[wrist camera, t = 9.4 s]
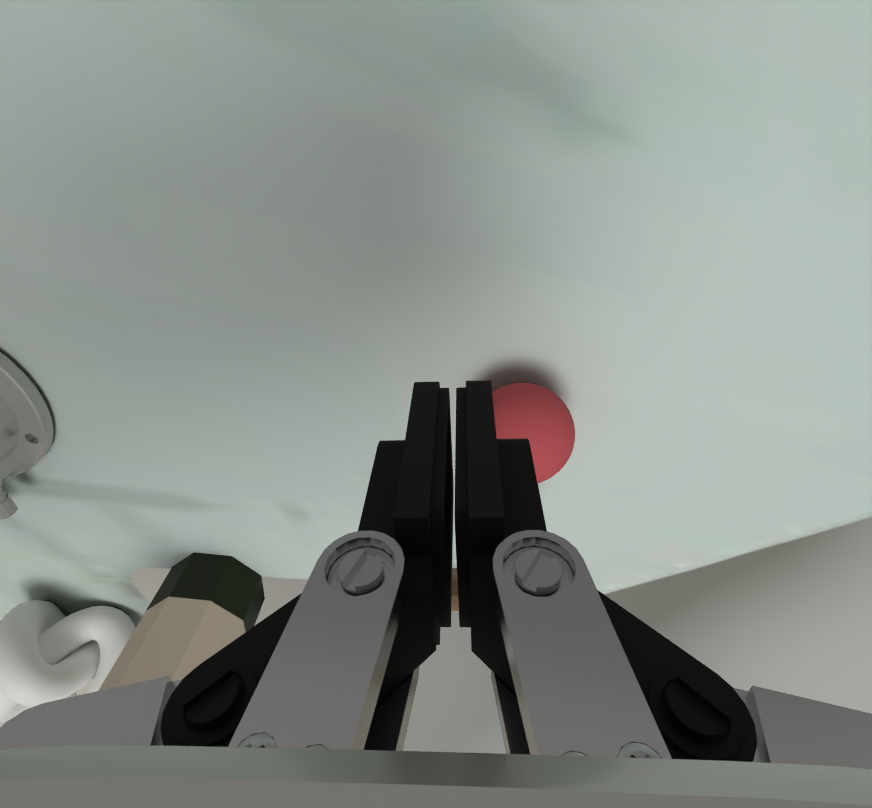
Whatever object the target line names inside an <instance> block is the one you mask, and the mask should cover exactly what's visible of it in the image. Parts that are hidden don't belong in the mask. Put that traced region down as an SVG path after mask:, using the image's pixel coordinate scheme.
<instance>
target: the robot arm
mask: <svg viewBox="0 0 872 808" xmlns="http://www.w3.org/2000/svg"><path fill="white" fill-rule="evenodd" d="M53 434H54V430H53V423H52V418H51V415H50V412H49V410H48V407H47V405H46V403H45V401H44V399H43V398H42V396H41V394H40V393H39V391H38V389H37V388H36V387H35V385H34V384H33V383H32V382H31V381H30V379H29V378H28V377H27V376H26V374H25V373H24V372H23V371H22V370H21V369H20V368H18V367H17V366H16V365H15V364H14V363H13V362H12V361H11V360H10V359H9V358H8V357H6V356H5V355H4V354H2V353H1V352H0V520H1V519H5V518H7V517H10V516H11V515H13V514H14V513H15V512H16V511H17V509H18V508H17V506H16V505H15V503H14V502H13V501H12V499H11V498H10V497H9V495H8V494H6V493H5V492H4V490H3V489H2V488H1V487H2V485H3V481H2V480H3V479H5V478H6V477H7V476H14V475H17V474H20V473H23V472H25V471H27V470H29V469H30V468H31V467H33V466H34V465H36V464H37V463H38V462H39V461H40V460H41V459H42V458H43V457H44V456H45V455H46V454H47V453H48V451H49V449H50V447H51V445H52V441H53ZM455 535H456V556H457V578H458V600H459V622H460V627H471V644H472V652H474V654H476V655H477V656H478V657H479V658H480V659H481V660H482V661H483V662H484V663H485V664H486V665H487V666H488V667H489V668H490V669H491V679H492V684H493V689H494V694H495V699H496V704H497V709H498V715H499V719H500V725H501V730H502V734H503V740H504V745H505V749H506V754H491V753H454V752H452V753H451V752H418V751H403V746H404V741H405V737H406V732H407V727H408V723H409V718H410V714H411V709H412V705H413V700H414V695H415V691H416V686H417V682H418V677H419V665H420V664H422V663H423V662H424V661H425V660H426V659H427V658H428V657H429V656H430V655H431V654H432V653H433V652H435V650H436V645H439V644H440V627H451V597H452V542H453V465H452V443H451V421H450V399H449V388H440V384H439V382H415V383H414V387H413V394H412V400H411V406H410V413H409V419H408V425H407V432H406V438H405V440H397V441H380V442H379V444H378V447H377V451H376V456H375V460H374V464H373V469H372V473H371V477H370V482H369V486H368V490H367V495H366V499H365V503H364V508H363V512H362V516H361V521H360V525H359V529H358V531H357V532H353V533H349V534H346V535H344V536H343V537H341V538H339V539H337V540H335V541H334V542H333V543H331V544H330V545H329V546H328V547H327V548H326V549H325V550H324V551H323V553H322V554H321V556H320V557H319V559H318V561H317V563H316V565H315V567H314V569H313V571H312V573H311V575H310V577H309V579H308V581H307V584H306V586H305V588H304V590H303V592H302V593H301V594H300V595H298V596H297V597H296V598H294V599H293V600H291V601H290V602H288V603H287V604H285V605H284V606H283V607H281V608H280V609H278V610H277V611H276V612H274V613H273V614H271V615H270V616H268V617H267V618H266V619H264V620H263V621H261V622H260V623H258V624H257V625H255V626H254V627H253V628H251V629H250V630H248V631H247V632H245V633H244V634H243V635H241V636H240V637H238V638H237V639H235V640H234V641H232V642H231V643H230V644H228V645H227V646H225V647H224V648H222V649H221V650H220V651H218V652H217V653H215V654H214V655H212V656H211V657H210V658H208V659H207V660H205V661H204V662H202V663H201V664H200V665H198V666H197V667H196V668H195V669H193V670H192V671H191V672H190V673H189V674H188V675H186V676H185V677H184V678H183V679H181V680H176V681H172V680H171V679H170V677H169V676H165V677H160V678H156V679H151V680H147V681H142V682H137V683H133V684H128V685H124V686H119V687H115V688H110V689H106V690H101V691H96V692H92V693H87V694H83V695H79V696H74V697H69V698H64V699H60V700H55V701H51V702H46V703H42V704H40V705H37V706H34V707H32V708H29V709H26V710H24V711H23V712H21V713H20V714H18V715H17V716H15V717H14V718H12V719H11V720H9V721H7V722H6V723H5V724H4V725H3V726H2V727H1V728H0V808H872V714H870V713H866V712H862V711H858V710H853V709H849V708H845V707H841V706H836V705H832V704H827V703H824V702H820V701H815V700H811V699H807V698H803V697H798V696H794V695H790V694H786V693H781V692H777V691H773V690H769V689H764V688H760V687H756V686H752V687H751V689H750V690H749V692H748V691H744V690H740V689H735V688H733V687H731V686H730V685H729V684H728V683H727V682H726V681H725V680H723V679H722V678H721V677H720V676H719V675H718V674H716V673H715V672H714V671H712V670H711V669H709V668H708V667H706V666H705V665H703V664H702V663H701V662H699V661H698V660H696V659H695V658H693V657H692V656H691V655H689V654H688V653H687V652H685V651H684V650H682V649H681V648H679V647H678V646H677V645H675V644H674V643H672V642H671V641H669V640H668V639H667V638H665V637H664V636H662V635H661V634H659V633H658V632H656V631H655V630H654V629H652V628H651V627H649V626H648V625H647V624H645V623H644V622H642V621H641V620H639V619H638V618H636V617H635V616H634V615H632V614H631V613H629V612H628V611H626V610H625V609H623V608H622V607H621V606H619V605H618V604H617V603H615V602H614V601H612V600H611V599H609V598H608V597H607V596H605V595H604V594H602V593H601V592H599V591H598V590H597V589H596V587H595V584H594V582H593V580H592V578H591V575H590V573H589V571H588V569H587V566H586V564H585V562H584V560H583V558H582V556H581V555H580V553H579V552H578V550H577V549H576V548H575V547H574V546H573V545H572V544H571V543H569V542H568V541H567V540H566V539H564V538H562V537H560V536H558V535H556V534H554V533H550V532H547V530H546V525H545V520H544V514H543V509H542V504H541V499H540V494H539V489H538V483H537V478H536V473H535V468H534V463H533V457H532V452H531V447H530V443H529V440H528V438H521V439H497V436H496V426H495V416H494V407H493V397H492V387H491V380H490V381H466V388H457V390H456V460H455Z"/></svg>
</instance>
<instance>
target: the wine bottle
mask: <svg viewBox="0 0 872 808" xmlns="http://www.w3.org/2000/svg"><path fill="white" fill-rule="evenodd" d="M263 601H264V591H263V584H262V578H261V576H260V575H259V574H257V573H256V572H254V571H253V570H251V569H250V568H248V567H247V566H245V565H244V564H242V563H241V562H239V561H238V560H236V559H235V558H233V557H231V556H221V555H211V554H202V553H193V554H191V555H190V556H188V557H187V558H185V559H184V560H182V561H181V562H179V563H178V564H176V565H175V566H173V567H172V568H171V570H170V572H169V574H168V575H167V577H166V578H165V580H164V582H163V583H162V585H161V587H160V589H159V590H158V592H157V593H156V595H155V597H154V599H153V600H152V602H151V603H150V605H149V607H148V608H147V610H146V612H145V613H144V615H143V617H142V619H141V620H140V622H139V624H138V625H137V627H136V629H135V630H134V632H133V634H132V635H131V637H130V639H129V640H128V642H127V644H126V645H125V647H124V649H123V650H122V652H121V654H120V655H119V657H118V659H117V660H116V662H115V664H114V665H113V667H112V669H111V670H110V672H109V674H108V675H107V677H106V679H105V680H104V682H103V684H102V685H101V687H100V689H99V690H98V691H101V690H106V689H110V688H115V687H119V686H124V685H128V684H133V683H137V682H142V681H147V680H151V679H156V678H160V677H165V676H169V677H170V679H171V680H172V681H176V680H181V679H183V678H184V677H185V676H186V675H188V674H189V673H190V672H191V671H192V670H193V669H195V668H196V667H197V666H198V665H200V664H201V663H202V662H204V661H205V660H207V659H208V658H210V657H211V656H212V655H214V654H215V653H217V652H218V651H220V650H221V649H222V648H224V647H225V646H227V645H228V644H230V643H231V642H232V641H234V640H235V639H237V638H238V637H240V636H241V635H243V634H244V633H245V632H247V631H248V630H250V629H251V628H253V627H254V625H255V622H256V619H257V617H258V614H259V611H260V609H261V606H262V604H263Z"/></svg>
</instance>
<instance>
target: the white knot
mask: <svg viewBox="0 0 872 808" xmlns="http://www.w3.org/2000/svg"><path fill="white" fill-rule="evenodd" d="M135 629H136V628H135V625H134V623H133V622H132V620H131V619H130V617H129V616H128V615H127V614H125V613H124V612H123V611H122V610H119V609H117V608H114V607H110V606H93V607H90V608H86V609H83V610H80V611H77V612H75V613H72V614H70V615H68V616H67V617H65V615H64V614H63V613H62V612H61V611H60V609H59V608H58V607H57V606H56V605H55V604H53V603H51V602H48V601H41V600H32V601H28V602H26V603H23V604H20V605H18V606H16V607H15V608H13V609H12V610H11V611H10V612H9V613H8V614H7V615H6V616H4V618H3V619H2V620H1V621H0V723H1V722H4V721H6V720H9V719H11V718H14V717H15V716H17V715H18V714H20V713H21V712H23V711H24V710H26V709H29V708H32V707H34V706H37V705H40V704H42V703H46V702H51V701H55V700H60V699H64V698H69V697H74V696H77V694H76V691H78V690H79V689H80V688H82V687H83V686H84V685H85V684H87V683H88V682H89V681H90V680H92V679H93V678H94V679H93V681H92V683H91V684H90V686H89V688H88V689H87V690H86V691H85V693H84V694H87V693H92V692H96V691H98V690H99V689H100V687H101V685H102V684H103V682H104V680H105V679H106V677H107V675H108V674H109V672H110V670H111V669H112V667H113V665H114V664H115V662H116V660H117V659H118V657H119V655H120V654H121V652H122V650H123V649H124V647H125V645H126V644H127V642H128V640H129V639H130V637H131V635H132V634H133V632H134V630H135Z"/></svg>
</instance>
